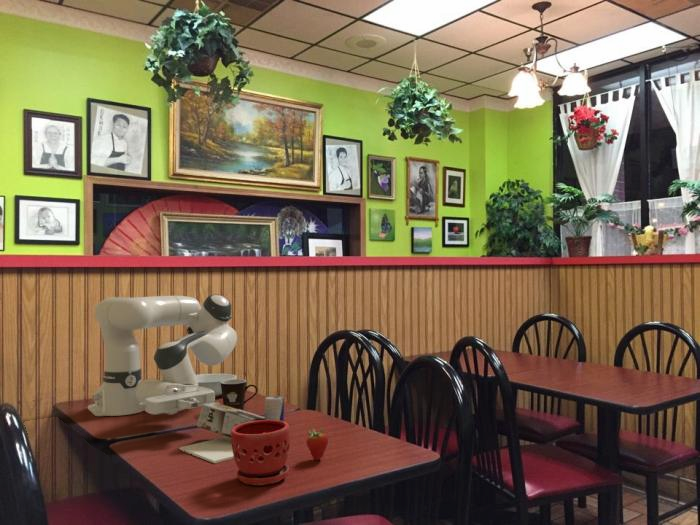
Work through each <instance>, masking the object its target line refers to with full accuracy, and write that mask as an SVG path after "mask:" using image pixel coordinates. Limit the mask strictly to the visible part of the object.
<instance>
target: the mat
mask: <svg viewBox="0 0 700 525" xmlns="http://www.w3.org/2000/svg"><path fill="white" fill-rule="evenodd" d="M238 447H239V446H238ZM178 449H180V450H179V451H181V450H182V452H184V451H185V452H184V453H186V452H187V453H186V454H189V455H191V454H192V456H195V457H197V458H200V459H202V460H205V461H207V462H210V463H213V464H218V463H221V462H226V461H229V460H233V459H234V455H233V450H232V444H231V438H230V437H227V436H222V437H218V438H213V439H209V440H206V441H201V442H198V443H193V444H189V445H186V446H181V447H179V448H178Z"/></svg>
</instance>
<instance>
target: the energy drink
mask: <svg viewBox="0 0 700 525" xmlns="http://www.w3.org/2000/svg"><path fill="white" fill-rule="evenodd" d="M264 417H265V420H279V421H284V422H285V399H284V396H282V395H270V396H266V397H265V399H264ZM264 433H267V432H264Z"/></svg>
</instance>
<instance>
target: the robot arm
mask: <svg viewBox="0 0 700 525" xmlns="http://www.w3.org/2000/svg"><path fill="white" fill-rule="evenodd" d="M93 312H94V315H93V316H94V319H95V320H96V322H97V323H98V325H99V327H100V331H101V335H102V340H103V344H104V345H103V346H104V351H105V353H104V355H105V370H104V371H103V376H102V377H103V379H102V381H103V382H102V383H101V384H100V386H99V388H98V389H97V390H96V391H95V392H94V394H92V401H93V402H94V404H89V405H87V410H88V411H89V412H91V414H92V415H94V416H95V417H104V416H105V417H107V416H110V417H113V416H114V417H115V416H116V417H117V416H127V415H133V414H137V413H142V412H144V411H145V412H146V413H148V414H150V415H160V414H167V415H174V414H177V413H178V412H180V411H183V410H185V409H188V410H191V409H196V408H199V407H200V406H201V407H202V405H203V404H209V403H215V401H216V400H215V399H216V396H215V392H214V391H213V390H211V389H208V388H204V387H198V385H199V384H198V381H197V378H196V375H197V374H196V373H195V370H194V368H193V365H192V361H191V359H190V356H189V351H188V350H191V351H192V353H193V355H194V356H195V358H196V360H197V361H198V362H199V363H201V364H202V365H205V366H210V367H211V366H214V367H215V366H217V365H220V364H221V363H223V362H224V361H225V360H226V359H227V358H228V357H229V355H231V353H232V352H233V351H234V349H235V347H236V345H237V342H238V334H237V332H236V330H235V329H234V328H233V327H231V326H230V325H229V321H230V320H232V303H231V301H230V300H229V299H228V298H227V297H226V296H224V295H222V294H217V293H215V294H209V295H208V296H207V297H206V298H205V299H204V300H203V303H202V305H201V304H200V302H199V300H197V299H196V298H195V297H192V296H187V295H154V296H153V295H152V296H143V297H142V296H137V297H122V296H121V297H120V296H119V297H118V296H114V297H113V296H111V297H107V298H105V299H103V300H101V301H99V302H98V303H97V305H96V306H95V308H94V311H93ZM180 325H183V326H187V329H186V332H187V335H185V336H182V337H180V338H177V339H175V340H173V341H169V342H165V343H163V344H161V346H158V347H157V349H156V350H155V353H154V355H153V360H154V363H155V364H156V366H157V368H158V371H159V373H160V375H161V379H152V378H150V379H144V380H142V378H143V376H142V375H143V374H142V368H141V347H140V344H139V342H138V341H137V340H136V337H135V334H134V331H138V330H145V329H150V328H159V327H160V328H161V327H174V326H180Z"/></svg>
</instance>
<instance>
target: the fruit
mask: <svg viewBox="0 0 700 525" xmlns="http://www.w3.org/2000/svg"><path fill="white" fill-rule="evenodd" d="M323 432H324V430H323V429H322V428H319V431H316V429H315V428H314V427H312V431H311V430H310V429H308V432H307V435H309V436H308V437H307V439H306V441H305V443H306V445H307V448H308V449H309V451H310V454H311V457H312V458H313V460H314V461H320V460H321V459H322V458H323V456H324V454H325V452H326V449H327V446H328V443H329V438H328V436H327V435H326V434H324V433H323Z"/></svg>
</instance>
